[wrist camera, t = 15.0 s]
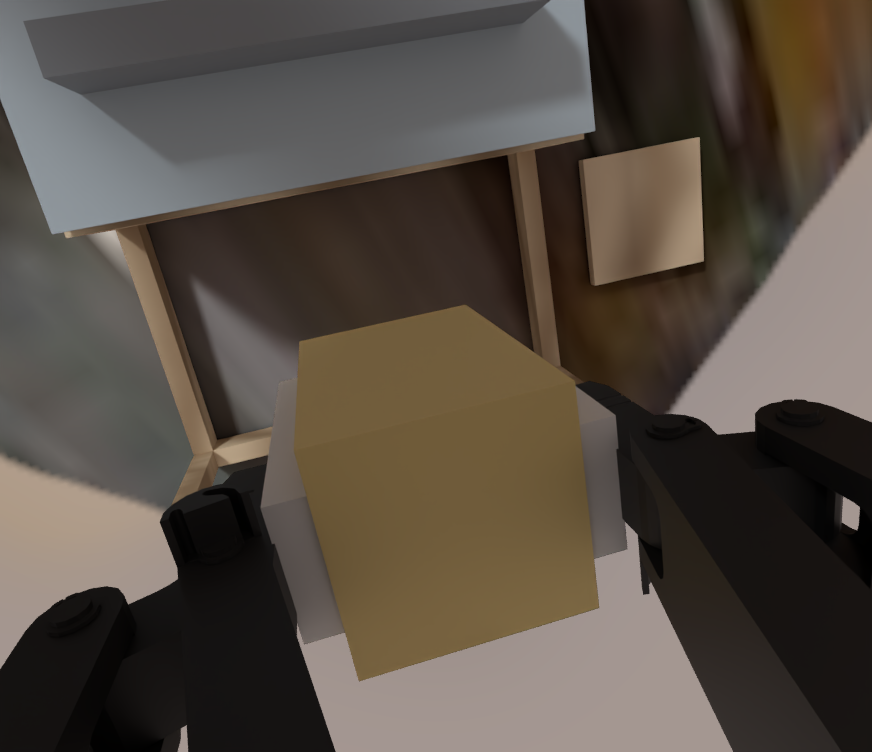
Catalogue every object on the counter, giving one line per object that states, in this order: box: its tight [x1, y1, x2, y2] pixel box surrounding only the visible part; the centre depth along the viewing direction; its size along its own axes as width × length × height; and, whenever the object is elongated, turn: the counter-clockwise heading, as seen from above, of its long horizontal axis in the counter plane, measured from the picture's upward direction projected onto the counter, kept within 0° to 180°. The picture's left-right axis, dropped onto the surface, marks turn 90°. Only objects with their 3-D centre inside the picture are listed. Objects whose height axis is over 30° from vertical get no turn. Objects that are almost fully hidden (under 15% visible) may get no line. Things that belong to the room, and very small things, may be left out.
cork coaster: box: [579, 137, 704, 286], centre depth 34 cm, size 7×7×1 cm
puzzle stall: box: [64, 134, 584, 504], centre depth 27 cm, size 21×28×8 cm
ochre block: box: [294, 305, 599, 681], centre depth 13 cm, size 4×4×7 cm
